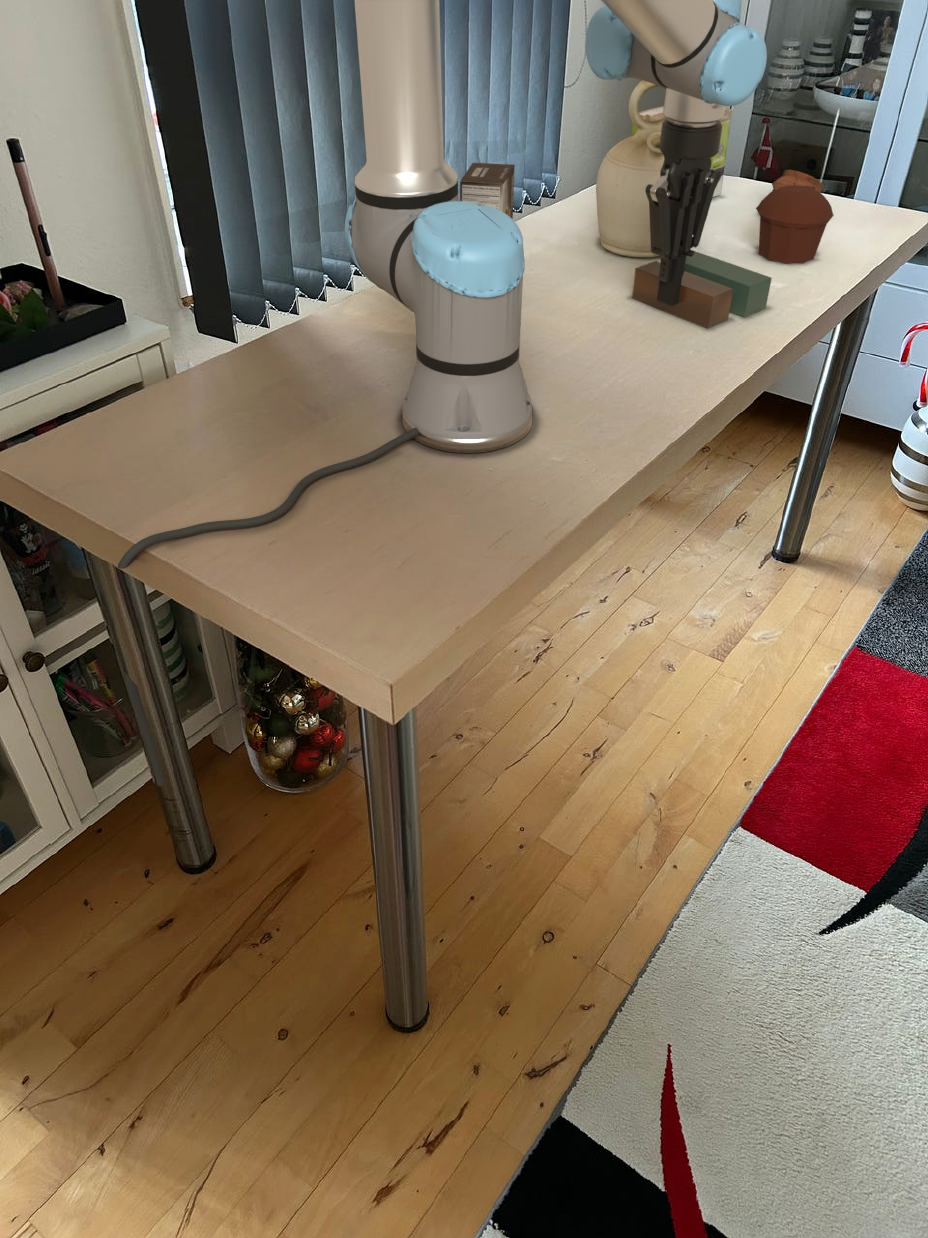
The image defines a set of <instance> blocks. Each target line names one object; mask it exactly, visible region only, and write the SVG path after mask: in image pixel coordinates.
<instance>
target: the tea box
mask: <svg viewBox="0 0 928 1238" xmlns="http://www.w3.org/2000/svg"><path fill="white" fill-rule="evenodd" d="M663 109H664V105H662V106H657V107H654V108H653V107H652V108H649V109H646V110H642V111H639V114H640V116H641V117H642V118H643V117H644V116H645V115H647V114H648V115H650V116H651V117H652V120H653V121H657V120H660V119H662V118H663V117H665V116H664V114H663ZM732 115H733V109H732V108H729V107H725V111H724V117H723V118H722V119H721V120H719V122H720V123H721V125H722V132H721V139H720V145H719V151H718V153H717V154H716V155H715V156H714V157H711V161H712V164H711V167H712V168H713V169H714V170H717V171H721V173H722V175H721V178H720V180H719V182H718V184H717V186H716V188H715V190H714V194H713V197H712V198H714V197H717V196H721V195H722V189H723V183H724V173H725V166H726V160H727V154H728V153H727V152H728V146H729V145H728V144H729V138H730V132H731V131H730V130H731V122H732ZM637 130H638V128H637V126H635V125H634V123H633V122H632V129H631V136H634V135H635V134H636V132H637Z"/></svg>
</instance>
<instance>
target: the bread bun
mask: <svg viewBox="0 0 928 1238" xmlns="http://www.w3.org/2000/svg"><path fill="white" fill-rule="evenodd" d="M794 185H798V186H805V187H810V188H813V189H815V190H817V191H818V192H820V193H821V194H822V192H821V191H822V190H823V189H824V187H825V186H824V184H823V183H822V182H821V181H819V179H817V178H815V177H814V176H812V175H810V174H807V173H804V172H801V171H799V170H793V169H784V170H783V171H782V176H779V177H778V178H776V179H775V180H774V181H773V182H772V183H771V186H772V190H771V192H772V191H774V190H776V189H779V188H781V187H785V186H794Z"/></svg>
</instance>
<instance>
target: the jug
mask: <svg viewBox="0 0 928 1238" xmlns="http://www.w3.org/2000/svg"><path fill="white" fill-rule="evenodd" d="M656 87H660V88H664V89H665V90H666V88H665V87H662V86H659V85H655V84H652V83H649V82H646V81H643V80H641V81H640V82H638V84H637V85H636V86H635V87H634V89H633V90H632V92H631V95H630V97H629V101H628V114H629V118H630V120H631V122H632V124H633V123H634V125H635V126H637V128H638V130H637V132H636V134H635V135H634V136H632V135H631V136H628V137H627V138H625V139H623V140H620V141H619V142H618V143H616V144H615V145H614V146H613V147H612V148H611V149H609V150H608V152H607V153H606V155H605V156H604V158H603V160H602V162H601V164H600V166H599V170H598V172H597V177H596V183H595V199H596V211H597V226H598V233H599V237H600V244H601V246H602V248H604V249H605V250H607V251H609V252H611V253H612V254H616V255H618V256H623V257H629V258H657V257H660V256H659V255H656V254H653V253H651V240H650V214H649V201H648V198H647V195H646V192H645V190H646V187H647V185H648V184H651V185H655V184H656V182H657V181H658V180H659V179H660V178H661V177H660V171H661V168H662V166H663V163H664V155H663V153H662V152H661V151H660V148H659V146H660V137H661V129H662V123H663V121H664V120H665V119H666V117H663V118H662V119H660V120H657V121H653V120H652V117H651V116H650V115H648V114H647V115H645V116H644V117H643V118H642V117H641V116H640V114H639V112H640V109H639V105H640V101H641V99H642V97H643V96H644V94H645V93H646V92H647V91H649V90H651V89H653V88H656Z"/></svg>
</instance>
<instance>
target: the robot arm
mask: <svg viewBox="0 0 928 1238" xmlns="http://www.w3.org/2000/svg"><path fill="white" fill-rule="evenodd" d="M600 1H601V2H602V3H603V4H604V6H602V7H600V8H598V10H596V11H595V12H594V14H592V16H591V18H590V19H589V22H588V25H587V28H586V32H585V44H584V48H585V56H586V60H587V63H588V66H589V68H590V70H591V72H592V73H593V74H594V75H595V76H596V77H597V78H599V79H601V80H604V81H606V80H610V81H611V80H616V81H623V80H624V79H637V80H641V81H642V80H643V81H646V82H649V83H652V84H655V85H659V86H662V87H661V88H663V87H665V88H666V89H665V88H664V89H665V93H664V94H665V96H664V102H663V106H664V109H663V114H664V116H665V117H666V119H665V120H664V121H663V123H662V129H661V137H660V146H659V148H660V151H661V152H662V153H663V155H664V163H663V166H662V168H661V171H660V177H661V178H660V179H659V180H658V181H657V182H656V184H655V185H651V184H648V185H647V187H646V190H645V192H646V195H647V198H648V201H649V214H650V240H651V253H653V254H656V255H659V256H658V257H660V262H661V263H660V271H659V272H660V273H659V288H658V296H657V300H658V301H660V302H663V303H665V304H668V305H671V306H673V305H675V304H678V302H679V296H680V289H681V282H682V277H683V274H684V268H685V262H686V256H689V257H692V256H693V255H694V252H695V251H696V250H693V248H697V247H698V246H699V245H700V242H701V238H702V235H703V231H704V228H705V225H706V222H707V218H708V215H709V210H710V208H711V204H712V202H713V201H712V200H713V198H714V197H713V194H714V190H715V188H716V186H717V184H718V182H719V180H720V178H721V175H722V173H721V171H717V170H714V169H713V168H712V167H711V164H712V161H711V157H714V156H715V155H716V154H717V153H718V151H719V145H720V139H721V132H722V125H721V123H720V122H719V120H721V119H722V118H723V117H724V111H725V108H726V107H734V106H738V105H739V104H742V103H743V102H745V101H747V99H749V98H750V97H751V96H752V95H753V93H754V92H755V90H756V89H757V88H758V86H759V84H760V83H761V82H762V79H763V76H764V74H765V71H766V68H767V59H768V50H767V45H766V42H765V39H764V37H763V36H762V34H761V33H760V32H759V31H758V30H756V29H755V28H752V27H750V26H749V27H748V26H747V24H744V23H742V22H741V12H742V2H743V0H600ZM354 12H355V13H354V14H355V25H356V37H357V50H358V51H357V52H358V63H359V64H358V65H359V77H360V90H361V91H360V93H361V101H362V103H361V104H362V113H363V114H362V115H363V130H364V142H365V155H366V161H365V164H364V165H363V166H362V168H361V169H360V170H359V171H358V173H357V174H356V175H355V177H354V191H355V192H354V193H355V195H354V199H353V202H352V203H351V204H350V205H349V206H348V208H347V212H346V215H345V220H344V239H345V243H346V247H347V251H348V253H349V255H350V257H351V260H352V261H353V263H354V264H355V266H356V267H357V268H358V269H359V271H360V272H361V273H362V274H363V275H364V277H366V279H367V280H368V281H369V282H371V283H372V284H374V285H375V286H376V287H378V288H379V289H381V290H383V291H384V292H386V293H387V294H388V295H390V296H391V297H392V298H394V299H395V300H396V301H398V302H399V303H400V304H402V305H403V306H404V307H405V308H407V309H408V310H409V311H411V312H412V313H413V314H414V321H415V322H414V323H415V325H414V326H415V351H416V352H415V354H416V357H415V358H416V360H415V364H414V368H413V370H412V371H413V372H412V374H411V379H410V383H409V388H408V390H407V392H406V394H405V396H404V399H403V402H402V407H401V409H402V410H401V411H402V412H401V413H402V414H401V415H402V425H403V428H404V430H405V432H404V433H402V434H400V435H399V436H397V437H395V438H393V439H391V440H389V441H388V442H386V443H384V444H382V445H381V446H379V447H378V448H376V449H374V450H372V451H370V452H368V453H365V454H363V455H361V456H358V457H354V458H351V459H349V460H345V461H340V462H338V463H334V464H330V465H328V466H324V467H322V468H319V469H317V470H315V471H312V472H311V473H309V474H307V475H305V477H303V478H301V480H300V481H299V482H298V483H296V485H295V486H294V488H293V489H292V490H291V492H290V494H288V495H289V496H288V497H287V498H286V500H285V501H284V502H282V504H281V505H279V506H278V507H277V508H275V509H273V510H271V511H269V512H266V513H264V514H261V515H258V516H257V515H256V516H252V517H247V518H239V519H229V520H228V519H227V520H225V519H224V520H214V521H209V522H203V523H198V524H193V525H190V526H186V527H182V528H177V529H171V530H168V531H161V532H157V533H155V534H151V535H149V536H146V537H144V538H143V539H140V540H139V541H137V542H136V543H134V544H133V545H132V546H131V547H130V548H129V549H128V550H127V551H126V552H125V554H123V556H122V557H121V559H120V561H119V562H118V564H117V569H119V570H123V569H127V568H128V567H129V566H130V565H131V564H132V562H133V561H134V560H135V558H137V556H138V555H140V554H141V552H143V551H144V550H146V549H147V548H149V547H151V546H154V545H156V544H160V543H163V542H167V541H172V540H176V539H180V538H181V539H183V538H186V537H191V536H194V535H197V534H202V533H206V532H212V531H223V530H235V529H244V528H251V527H258V526H262V525H266V524H268V523H270V522H273V521H275V520H277V519H279V518H281V517H283V516H284V515H285V514H287V513H288V512H289V511H290V510H291V509H292V508H293V507H294V505H295V504H296V502H297V501H298V499H299V498H300V496H301V495H302V493H303V492H304V490H305V489H307V488H308V487H309V486H310V485H312V484H313V483H315V482H316V481H318V480H320V479H322V478H324V477H326V476H329V475H332V474H335V473H338V472H342V471H345V470H349V469H352V468H356V467H359V466H362V465H365V464H367V463H370V462H372V461H374V460H376V459H378V458H380V457H382V456H384V455H385V454H387V453H389V452H391V451H392V450H393V449H395V448H397V447H399V446H401V445H403V444H405V443H406V442H408V441H410V440H412V439H413V440H415V441H416V442H418V443H419V444H422V445H424V446H427V447H429V448H432V449H435V450H438V451H443V452H449V453H458V454H477V453H486V452H492V451H497V450H501V449H504V448H507V447H510V446H512V445H514V444H516V443H518V442H519V441H521V440H522V439H523V438H525V437H526V435H527V434H528V433H529V432H530V430H531V428H532V425H533V412H534V411H533V410H534V409H533V407H534V406H533V403H532V399H531V396H530V394H529V391H528V386H527V383H526V379H525V377H524V373H523V369H522V366H521V363H520V362H521V361H520V345H521V327H522V326H521V325H522V306H523V305H522V303H523V283H524V282H523V280H524V273H525V269H526V263H525V251H524V239H523V238H524V237H523V234H522V231H521V229H520V227H519V225H518V224H517V223H516V221H515V220H514V218H513V219H512V218H511V217H509V216H508V215H507V214H505V213H504V212H502V211H500V210H498V209H496V208H493V207H490V206H487V205H486V206H479V205H478V204H477V203H474V202H465V201H460V200H459V177H458V172H456V170H455V169H454V168H453V167H452V166H451V165H450V164H449V163H448V162H447V161H446V159H445V157H444V156H445V154H444V151H445V150H444V119H443V117H444V116H443V85H442V84H443V83H442V53H441V52H442V47H441V15H440V14H441V13H440V0H354ZM659 86H658V87H659ZM692 250H693V251H692ZM124 676H125V679H126V683H127V688H128V692H129V695H130V698H131V702H132V705H133V709H134V711H135V715H136V719H137V721H138V724H139V728H140V730H141V733H142V734H141V735H142V736H143V740H144V743H145V746H146V749H147V753H148V756H149V759H150V762H151V767H152V769H153V774H154V777H155V781H156V785H157V786H158V787H163V786H165V784H166V780H165V775H164V772H163V767H162V764H161V760H160V756H159V753H158V749H157V746H156V743H155V739H154V737H153V733H152V730H151V727H150V723H149V721H148V717H147V715H146V711H145V708H144V705H143V701H142V698H141V697H142V696H141V694H140V690H139V687H138V685H137V684H136V683H135V682H134V680H133V679H132V678H131V677H130V676H129V675H128V674H127V673H126V672H124Z"/></svg>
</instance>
